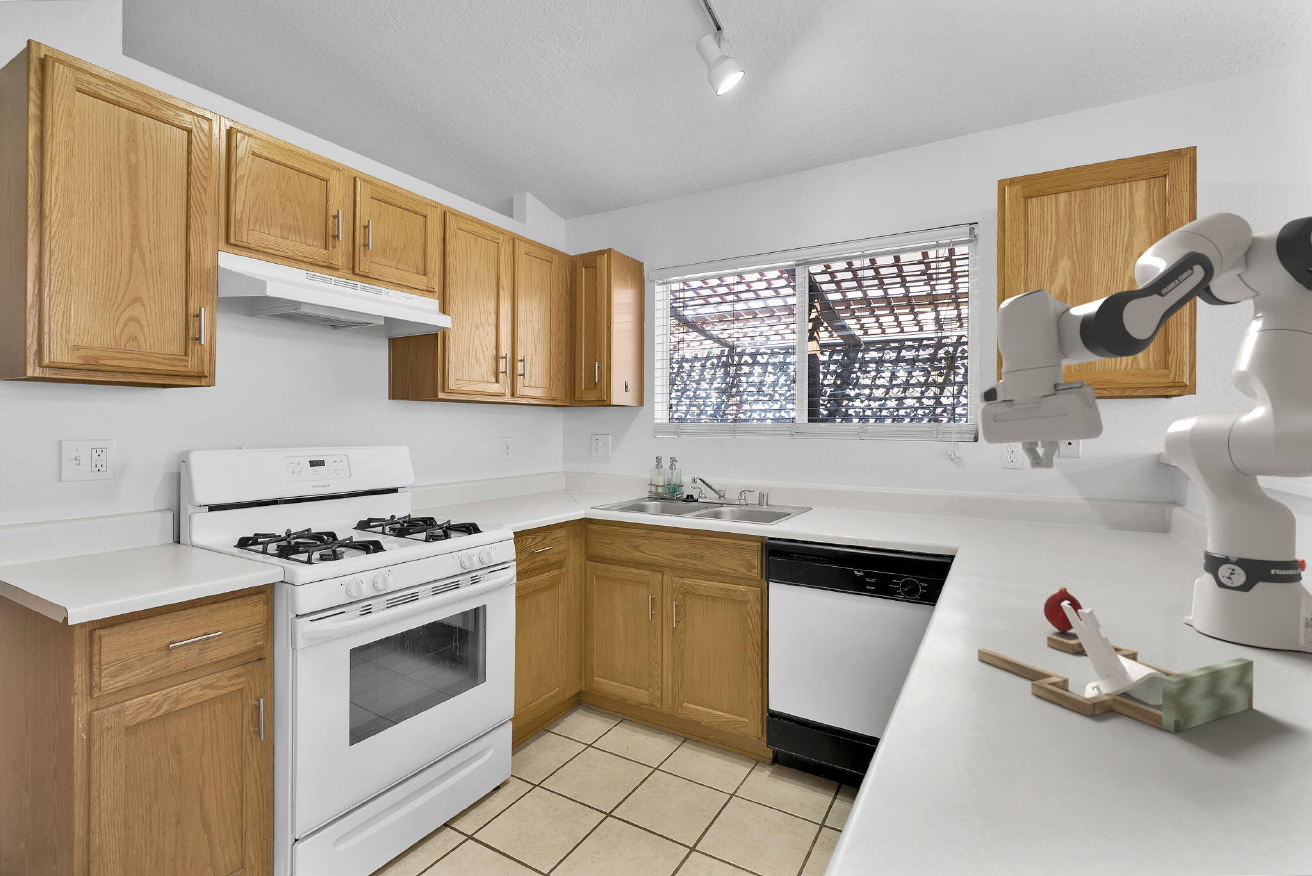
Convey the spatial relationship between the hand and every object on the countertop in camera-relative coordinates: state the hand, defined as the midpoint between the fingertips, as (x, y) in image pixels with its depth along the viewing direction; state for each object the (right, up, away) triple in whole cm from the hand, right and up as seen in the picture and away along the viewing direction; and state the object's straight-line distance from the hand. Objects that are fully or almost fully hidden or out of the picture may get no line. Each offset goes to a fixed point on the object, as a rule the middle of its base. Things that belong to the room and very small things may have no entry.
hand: (1042, 468), depth 105 cm
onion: (+6, -29, +4) cm, 30 cm away
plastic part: (-4, -29, -22) cm, 37 cm away
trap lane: (-3, -29, -18) cm, 34 cm away
